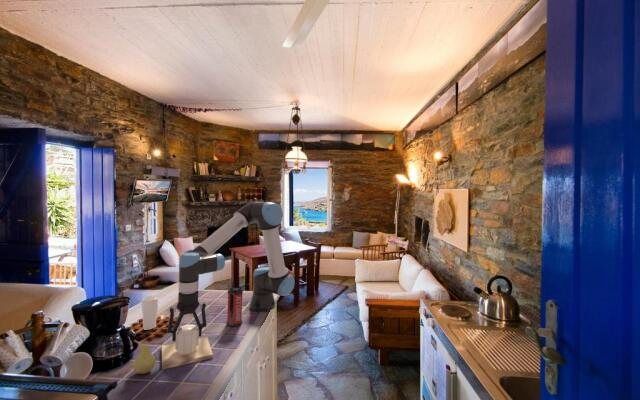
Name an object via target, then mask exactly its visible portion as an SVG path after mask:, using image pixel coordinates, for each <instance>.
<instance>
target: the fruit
mask: <svg viewBox="0 0 640 400" xmlns="http://www.w3.org/2000/svg"><path fill="white" fill-rule="evenodd" d="M133 342H134V343H135V344H138V345H140V352H139V355H138V356H137V357H136V358H135V359H134V362H133V364H132V365H133V366H132V369H133V371H134V372H135V373H136V374H141V375H144V374H147V373H149V372H151V371H152V370H153V368H154V367H155V365H156V357H155V356H154V355H153V354H152V352H151V351H150V349H149V347H148V346H147V345H146V344H145V343H142V342H139V341H138V340H136V339H134V340H133Z"/></svg>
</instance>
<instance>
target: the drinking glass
mask: <svg viewBox="0 0 640 400" xmlns="http://www.w3.org/2000/svg"><path fill="white" fill-rule="evenodd" d="M158 310H159V297H158V296H157V295H149V296H145V297H143V298H142V299H141V312H142V313H141V315H142V330H143V329H144V330H148V329H152V328H154V327H156V328H157V320H158V319H157V316H158ZM144 330H143V331H144Z"/></svg>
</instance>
